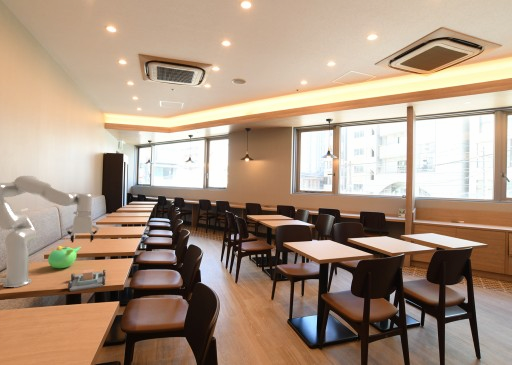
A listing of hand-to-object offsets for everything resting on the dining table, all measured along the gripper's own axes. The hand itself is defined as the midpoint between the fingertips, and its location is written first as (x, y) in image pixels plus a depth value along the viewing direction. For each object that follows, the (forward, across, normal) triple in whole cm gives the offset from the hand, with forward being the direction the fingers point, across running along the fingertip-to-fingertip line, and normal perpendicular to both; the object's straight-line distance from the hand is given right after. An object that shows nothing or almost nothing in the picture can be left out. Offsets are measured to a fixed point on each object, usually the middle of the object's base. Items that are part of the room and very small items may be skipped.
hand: (81, 241), depth 166 cm
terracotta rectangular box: (+22, +5, -6) cm, 24 cm away
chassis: (+23, +5, -6) cm, 25 cm away
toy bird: (+25, -13, +33) cm, 43 cm away
